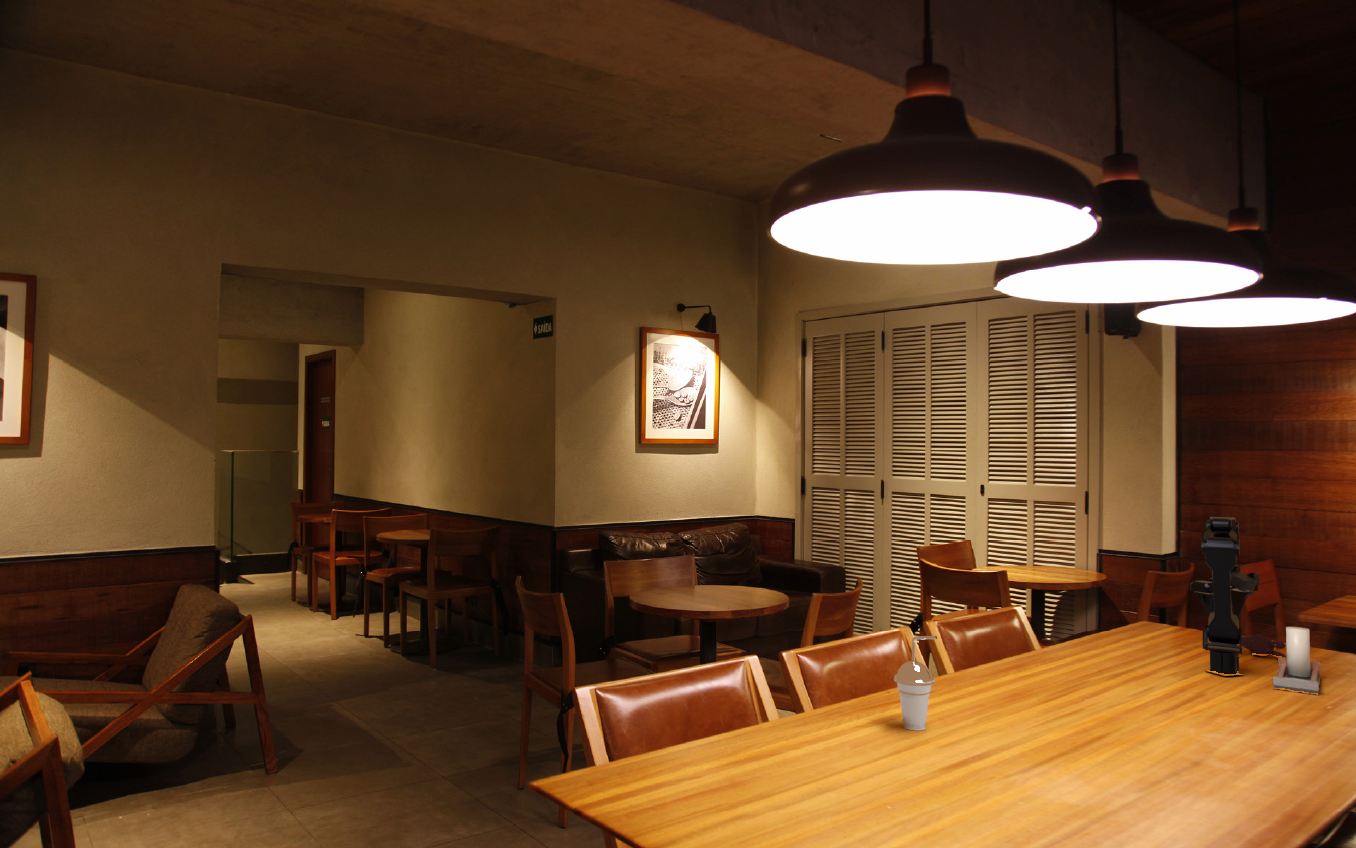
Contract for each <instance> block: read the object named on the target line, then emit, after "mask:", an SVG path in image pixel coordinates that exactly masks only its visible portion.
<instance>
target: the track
mask: <svg viewBox="0 0 1356 848" xmlns="http://www.w3.org/2000/svg"><path fill="white" fill-rule="evenodd" d="M1277 661H1278V662H1277V663H1278V671H1279V672H1278V671H1277V675H1273V677H1272V679H1273V688H1274V687H1275V688H1285V689H1290V690H1294V691H1304V692H1309V693H1318V692H1319V693H1320V688H1319V685H1320V686H1321V681H1320V678H1321V679H1322V673H1321V661H1315V660H1310V671H1311V676H1310V677H1298V676H1292V675H1289V674H1287V657H1286V658H1284V657H1278V659H1277Z"/></svg>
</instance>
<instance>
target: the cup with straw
mask: <svg viewBox="0 0 1356 848" xmlns="http://www.w3.org/2000/svg"><path fill="white" fill-rule="evenodd" d="M937 639H938V637H937V635H919V636H917V635H916V636H913V637H912V639H911V660H909V661H906V662H904V663H903V664H901V666H900V667H899V669H898V671H897V673H896V674H894V678H893V681H894V682H895V683H896V684H897V689H898V694H899V698H900V699H899V700H900V708H901V718H902V721H903V729H905V730H908V731H917V732H918V731H925V730H926V724H927V719H928V708H929V700H930V696H931V691H932V686H933V685H935V683H936V681H935V678H934V677H933V676H932V674H931V673H930V670H929V668H928V667H927V665H925V664H924V663H922V662H920V661H916V640H937Z"/></svg>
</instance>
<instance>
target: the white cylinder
mask: <svg viewBox="0 0 1356 848" xmlns="http://www.w3.org/2000/svg"><path fill="white" fill-rule="evenodd" d="M1285 633H1286V634H1285V635H1286V636H1285V638H1286V639H1285V641H1286V643H1285V646H1286V647H1285V648H1286V658H1287V674H1289V675H1292V676H1298V677H1310V676H1311V671H1310V661H1311V643H1310V642H1311V641H1310V640H1311V639H1310V633H1311V632H1310V629H1309V628H1307V627H1300V626H1285Z"/></svg>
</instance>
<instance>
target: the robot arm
mask: <svg viewBox="0 0 1356 848" xmlns="http://www.w3.org/2000/svg"><path fill="white" fill-rule="evenodd" d="M1239 524H1240V523H1239V521H1236V517H1231V516H1230V517H1228V516H1223V517H1222V516H1210V517H1209V520H1207V521H1206V523H1205V524H1204V530H1203V531H1202V532H1201V555H1204V562H1205V564H1206V565H1207V567H1208V568H1210V570H1211V577H1212V578H1210V577H1209V578H1208V581H1207V580H1193V581H1192V582H1191V583H1190V591H1191V592H1194V594H1195V595H1197V597H1198V598H1199V600H1200V601H1201V603H1202V606H1204V608H1205V610H1206V612H1207V614H1208V624H1206V625H1205V626H1204V629H1203V630H1202V650H1205V651H1209V669H1210V671H1216V672H1218V673H1224V674H1236V673H1237V671H1239V672H1240V657H1239V655H1243V646H1242V636H1243V629H1242V628H1241V627H1239V620H1240V619H1239V618H1238V617H1239V616H1241V613H1242V610H1243V608H1244V605H1245V603H1246V601H1247V599H1248V598H1249V597H1250V596H1252V595H1254V594H1255V592H1258V591H1259V585H1260V575H1259V573H1258V572H1252V571H1251V572H1249V573H1244V572H1241V567H1240V565H1237V557H1240V531H1239V529H1240V526H1239ZM1232 609H1233V611H1232ZM1239 641H1240V644H1239Z"/></svg>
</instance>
